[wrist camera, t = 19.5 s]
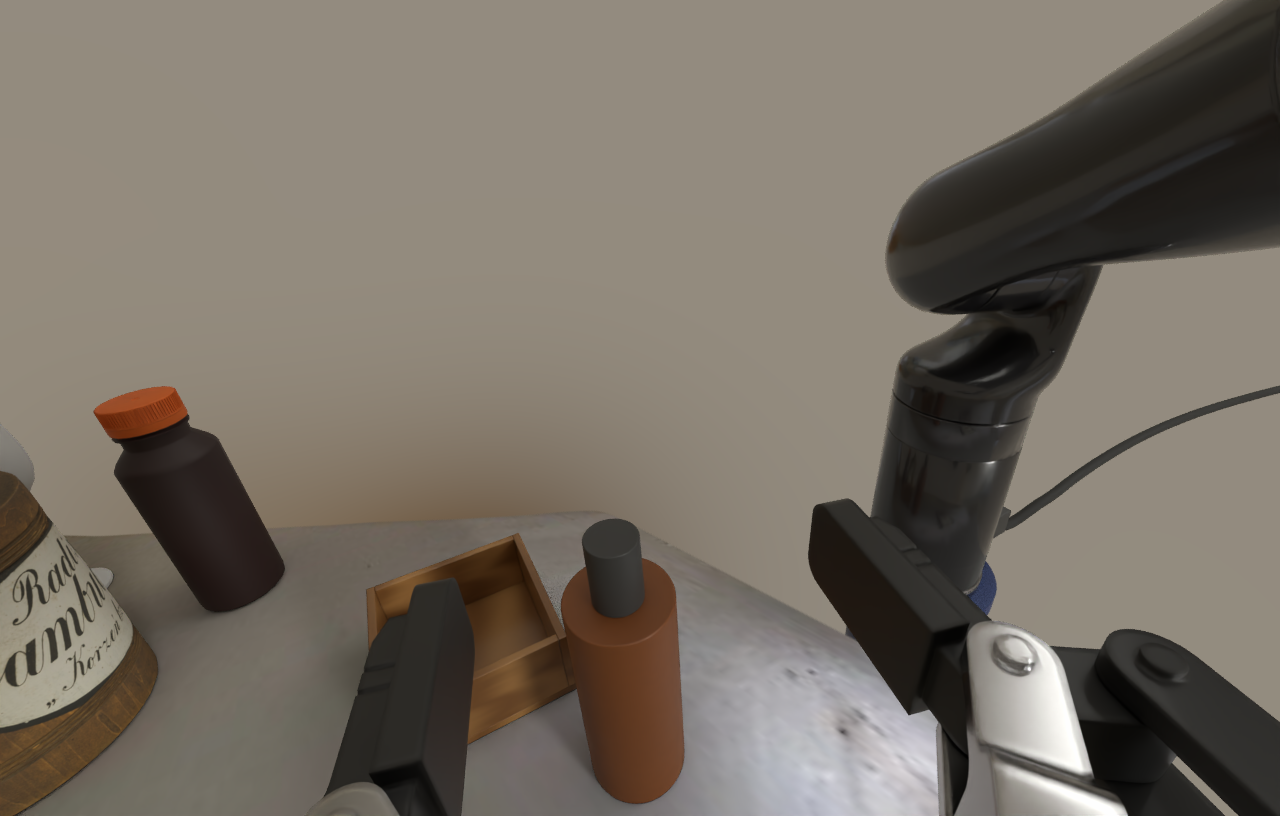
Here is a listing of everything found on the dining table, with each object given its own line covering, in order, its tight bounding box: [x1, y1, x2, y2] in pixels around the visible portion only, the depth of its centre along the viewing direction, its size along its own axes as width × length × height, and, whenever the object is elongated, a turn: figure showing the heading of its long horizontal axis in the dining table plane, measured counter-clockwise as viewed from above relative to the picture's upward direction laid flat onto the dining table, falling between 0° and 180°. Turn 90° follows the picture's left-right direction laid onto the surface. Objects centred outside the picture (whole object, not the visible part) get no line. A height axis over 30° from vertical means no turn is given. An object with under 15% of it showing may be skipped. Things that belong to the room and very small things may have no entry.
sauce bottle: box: [561, 519, 684, 804], centre depth 29 cm, size 6×6×18 cm
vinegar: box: [94, 386, 285, 612], centre depth 44 cm, size 7×7×20 cm
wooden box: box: [366, 533, 577, 744], centre depth 38 cm, size 12×12×6 cm
